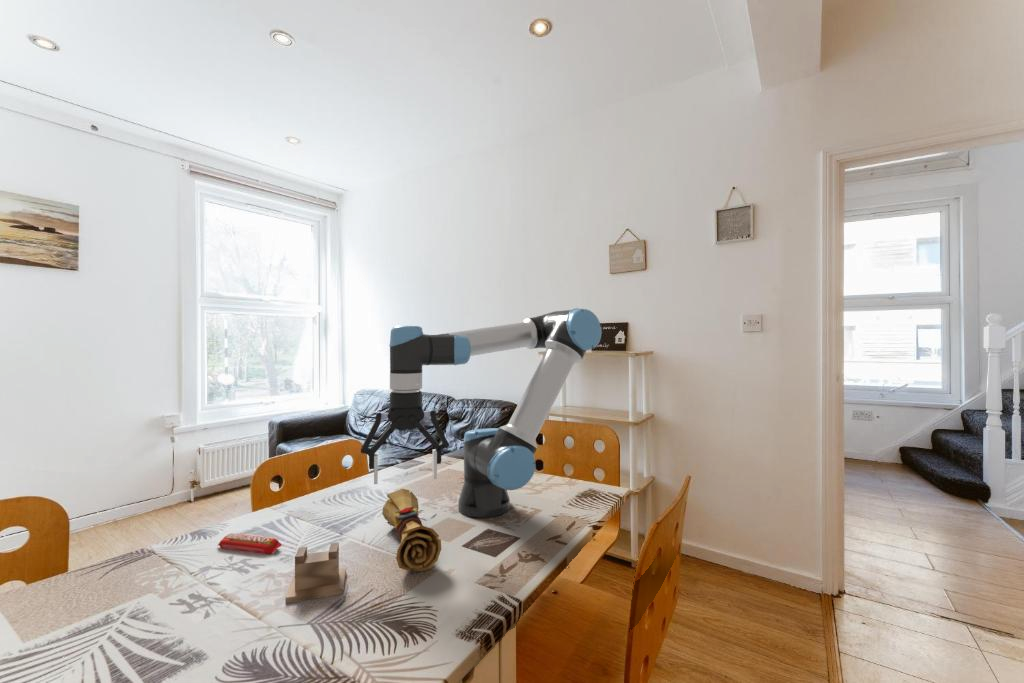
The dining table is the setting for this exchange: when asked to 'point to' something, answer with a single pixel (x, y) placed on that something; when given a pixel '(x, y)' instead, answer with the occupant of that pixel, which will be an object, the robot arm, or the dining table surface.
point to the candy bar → (249, 543)
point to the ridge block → (316, 575)
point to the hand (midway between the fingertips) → (405, 480)
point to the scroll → (411, 532)
